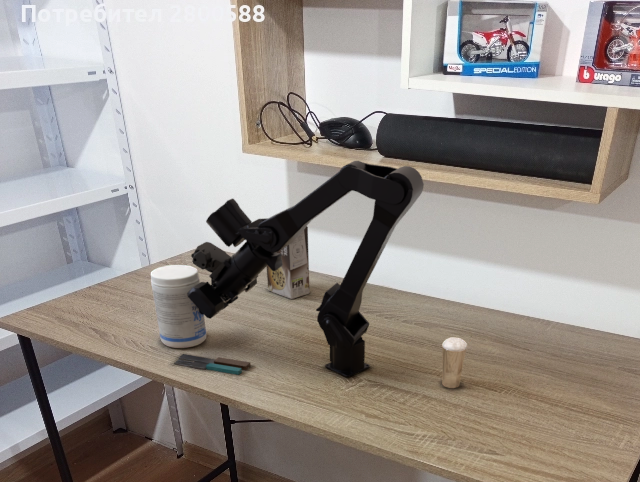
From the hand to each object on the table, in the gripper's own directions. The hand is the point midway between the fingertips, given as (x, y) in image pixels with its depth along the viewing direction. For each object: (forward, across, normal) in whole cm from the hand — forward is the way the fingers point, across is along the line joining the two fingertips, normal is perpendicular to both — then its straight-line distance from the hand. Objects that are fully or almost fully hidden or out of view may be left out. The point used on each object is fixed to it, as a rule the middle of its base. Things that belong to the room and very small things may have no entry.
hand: (200, 312), depth 139 cm
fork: (0, +10, +9) cm, 14 cm away
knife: (0, +8, +9) cm, 12 cm away
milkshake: (-33, 0, +42) cm, 53 cm away
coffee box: (+2, -34, +8) cm, 35 cm away
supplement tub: (+8, 0, +2) cm, 9 cm away
